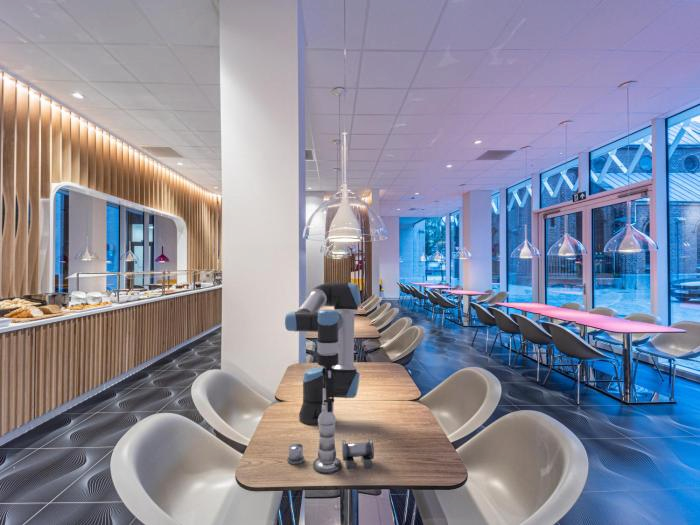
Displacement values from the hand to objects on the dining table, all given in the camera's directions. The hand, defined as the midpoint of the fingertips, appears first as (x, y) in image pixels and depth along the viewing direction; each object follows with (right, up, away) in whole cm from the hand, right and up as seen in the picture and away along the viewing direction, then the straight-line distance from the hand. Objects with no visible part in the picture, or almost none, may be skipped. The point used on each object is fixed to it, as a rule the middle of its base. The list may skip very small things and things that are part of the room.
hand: (327, 412), depth 129 cm
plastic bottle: (0, -17, -1) cm, 17 cm away
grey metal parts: (+5, -18, 0) cm, 19 cm away
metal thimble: (-12, -19, +3) cm, 22 cm away
